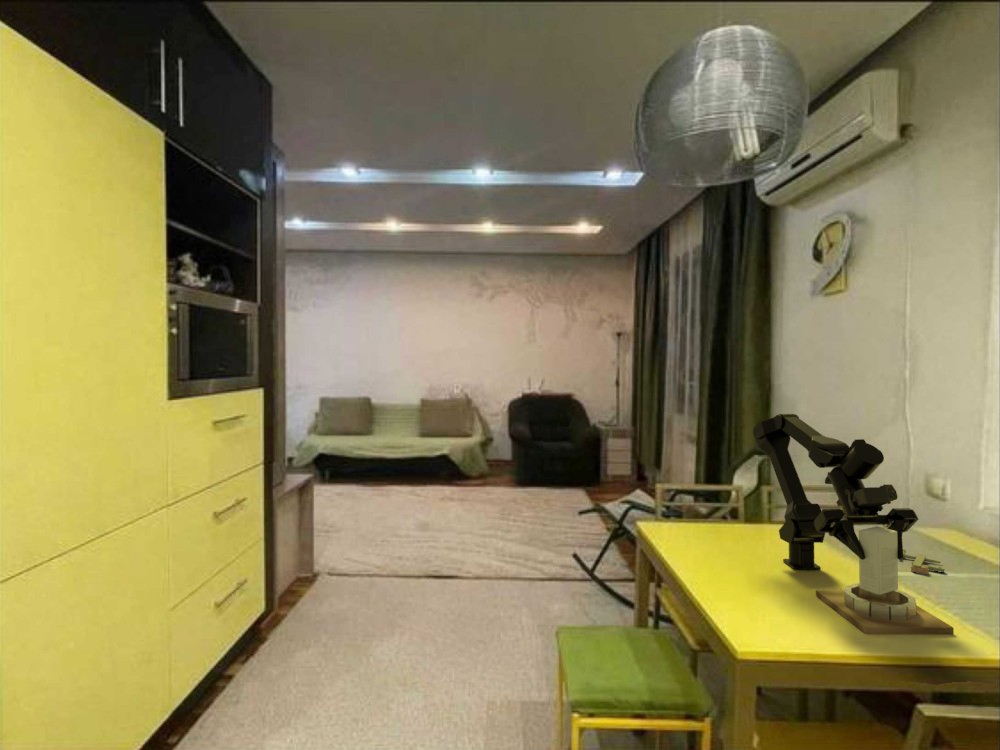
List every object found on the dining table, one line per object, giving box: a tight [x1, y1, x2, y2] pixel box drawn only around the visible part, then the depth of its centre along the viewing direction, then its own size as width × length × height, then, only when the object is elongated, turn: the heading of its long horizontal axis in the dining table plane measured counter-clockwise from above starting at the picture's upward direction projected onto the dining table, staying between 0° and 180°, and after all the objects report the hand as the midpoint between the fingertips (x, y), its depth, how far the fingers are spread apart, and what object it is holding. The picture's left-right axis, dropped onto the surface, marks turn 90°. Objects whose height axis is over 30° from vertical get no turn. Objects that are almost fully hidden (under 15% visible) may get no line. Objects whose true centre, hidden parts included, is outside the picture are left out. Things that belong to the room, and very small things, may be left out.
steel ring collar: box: [843, 583, 917, 620], centre depth 116 cm, size 12×12×2 cm
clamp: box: [898, 548, 945, 575], centre depth 143 cm, size 15×2×10 cm
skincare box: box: [858, 525, 899, 595], centre depth 116 cm, size 6×4×12 cm
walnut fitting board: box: [815, 589, 955, 635], centre depth 116 cm, size 18×16×1 cm
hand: (882, 558), depth 114 cm, fingers closed on skincare box, 7 cm apart
